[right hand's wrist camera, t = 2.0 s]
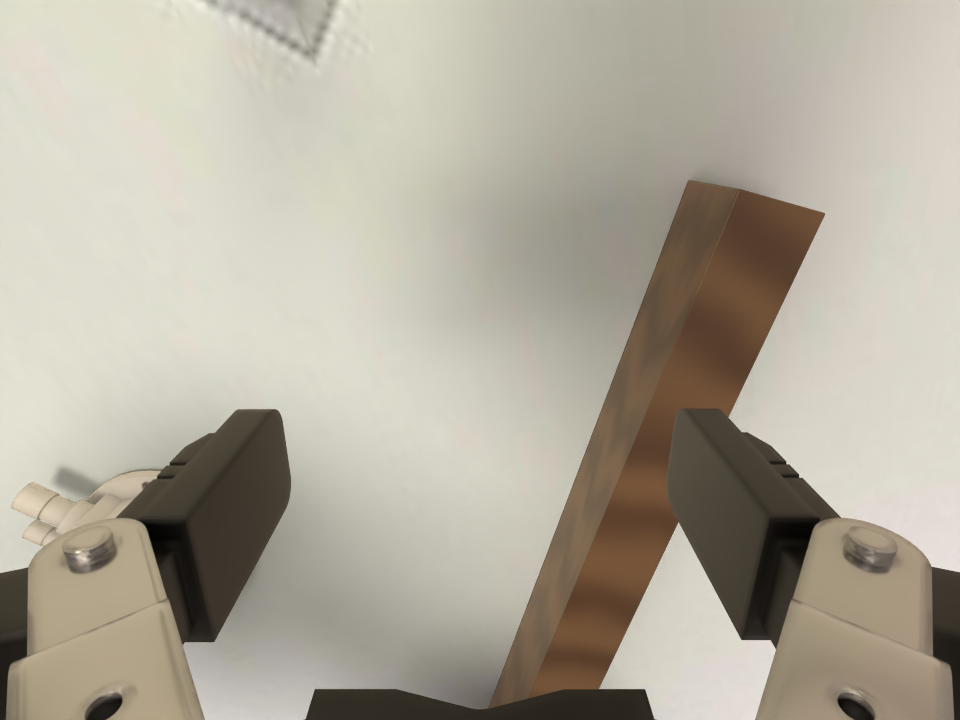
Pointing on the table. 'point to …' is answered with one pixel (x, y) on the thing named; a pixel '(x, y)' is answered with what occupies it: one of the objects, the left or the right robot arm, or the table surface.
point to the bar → (654, 427)
